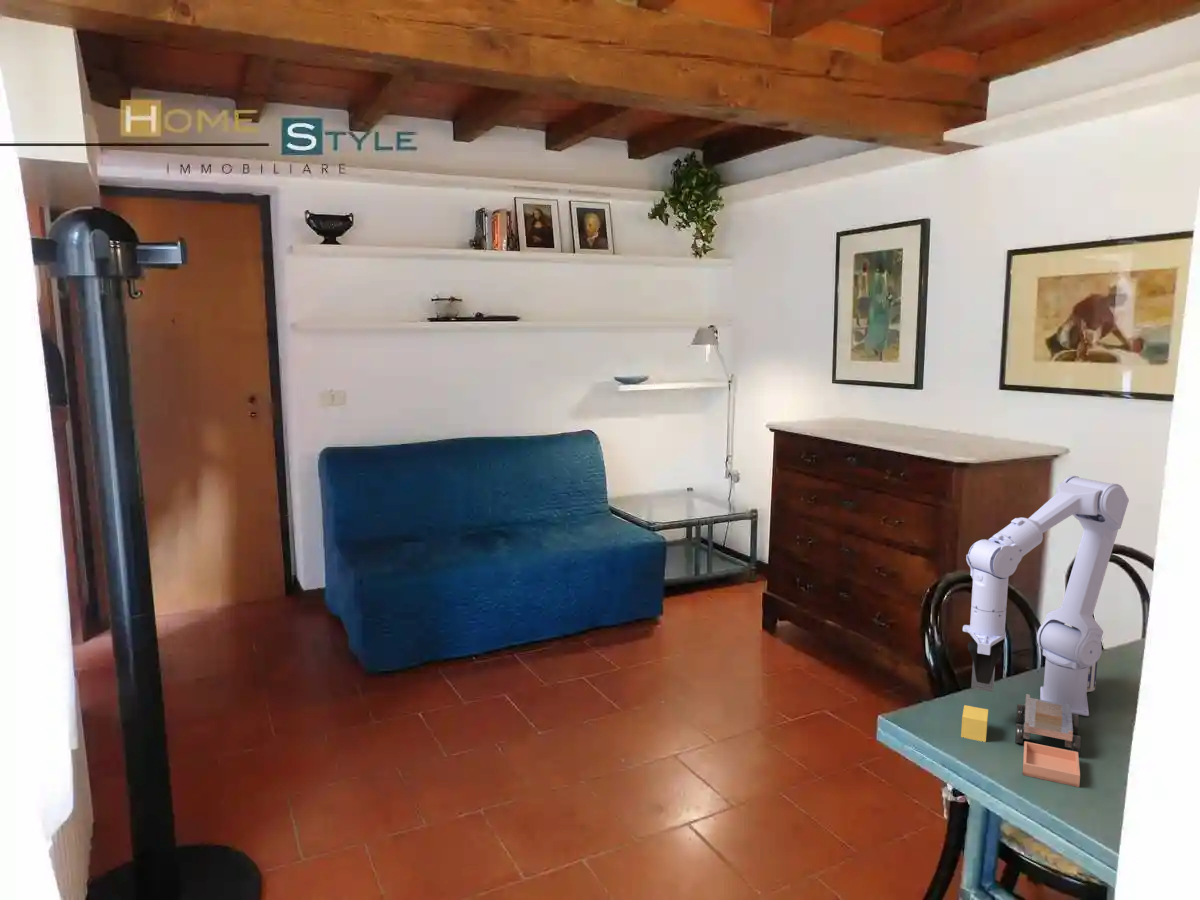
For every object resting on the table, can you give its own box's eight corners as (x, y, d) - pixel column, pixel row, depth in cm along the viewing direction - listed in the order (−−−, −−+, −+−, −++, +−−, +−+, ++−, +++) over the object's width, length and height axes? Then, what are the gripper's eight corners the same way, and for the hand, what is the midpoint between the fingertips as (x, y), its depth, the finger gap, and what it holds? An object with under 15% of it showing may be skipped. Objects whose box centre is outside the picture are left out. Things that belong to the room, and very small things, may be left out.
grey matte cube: (972, 680, 151) (974, 655, 151) (993, 684, 150) (995, 658, 149) (971, 687, 148) (972, 661, 148) (992, 691, 147) (994, 665, 146)
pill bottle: (1076, 679, 168) (1080, 634, 166) (1101, 689, 163) (1105, 643, 162) (1058, 684, 166) (1061, 638, 164) (1082, 694, 161) (1086, 648, 159)
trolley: (1016, 716, 153) (1018, 687, 152) (1076, 728, 148) (1079, 698, 147) (1014, 746, 142) (1016, 715, 141) (1079, 759, 138) (1082, 727, 137)
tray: (1023, 752, 140) (1024, 741, 140) (1077, 763, 137) (1078, 752, 136) (1022, 774, 133) (1023, 763, 133) (1079, 787, 130) (1080, 775, 129)
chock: (963, 725, 150) (964, 705, 149) (986, 730, 148) (988, 709, 148) (960, 737, 146) (962, 716, 145) (985, 742, 144) (987, 721, 143)
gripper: (968, 591, 155) (963, 659, 157) (960, 616, 142) (956, 689, 144) (1009, 597, 151) (1004, 666, 154) (1005, 622, 139) (1000, 697, 141)
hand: (983, 678), depth 149 cm, fingers closed on grey matte cube, 3 cm apart
